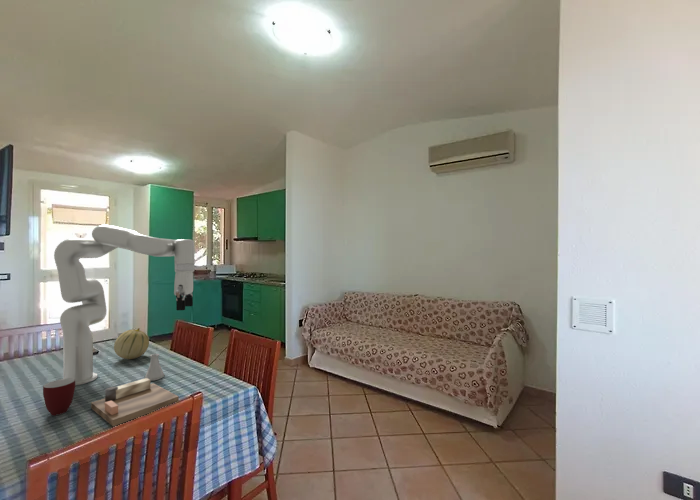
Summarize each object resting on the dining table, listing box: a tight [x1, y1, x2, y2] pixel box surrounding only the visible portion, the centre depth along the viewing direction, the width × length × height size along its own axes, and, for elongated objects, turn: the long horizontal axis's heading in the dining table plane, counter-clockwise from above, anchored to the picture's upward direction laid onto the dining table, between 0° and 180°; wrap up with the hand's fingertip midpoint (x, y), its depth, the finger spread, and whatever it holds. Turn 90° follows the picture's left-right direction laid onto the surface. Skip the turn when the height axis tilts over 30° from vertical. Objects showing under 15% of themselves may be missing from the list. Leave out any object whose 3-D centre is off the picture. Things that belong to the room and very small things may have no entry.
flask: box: [143, 353, 165, 381], centre depth 138 cm, size 7×7×10 cm
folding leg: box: [104, 377, 152, 401], centre depth 118 cm, size 14×4×4 cm, turn 144°
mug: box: [42, 378, 76, 416], centre depth 109 cm, size 10×8×10 cm
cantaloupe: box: [113, 327, 150, 360], centre depth 164 cm, size 15×15×15 cm
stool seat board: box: [90, 383, 180, 427], centre depth 114 cm, size 20×20×2 cm
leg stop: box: [105, 401, 118, 415], centre depth 105 cm, size 6×2×2 cm, turn 54°
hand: (184, 308), depth 137 cm, fingers open, 9 cm apart
